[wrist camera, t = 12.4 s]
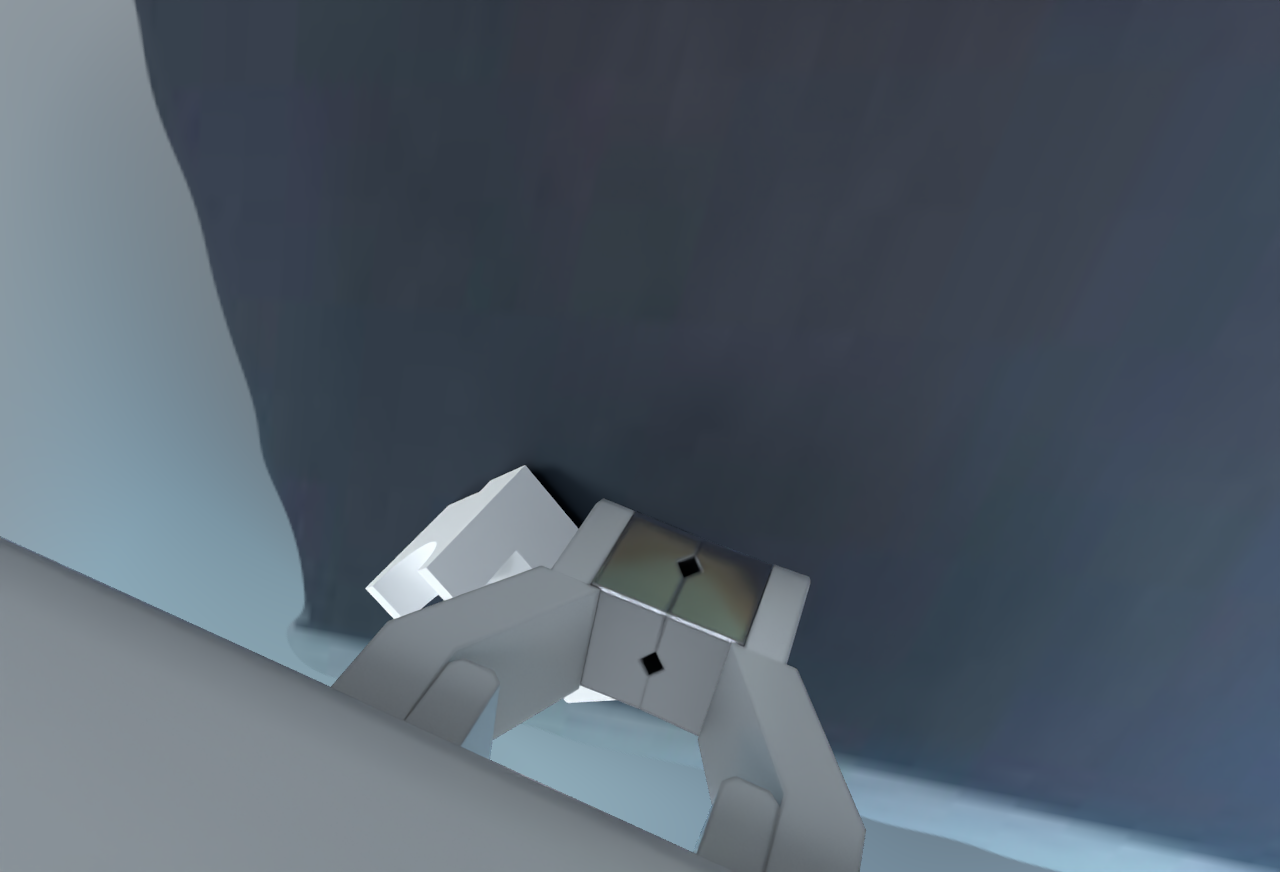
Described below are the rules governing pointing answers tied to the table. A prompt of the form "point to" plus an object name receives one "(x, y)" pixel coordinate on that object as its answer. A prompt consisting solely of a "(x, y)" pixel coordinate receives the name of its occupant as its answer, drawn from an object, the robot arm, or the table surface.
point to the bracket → (480, 548)
